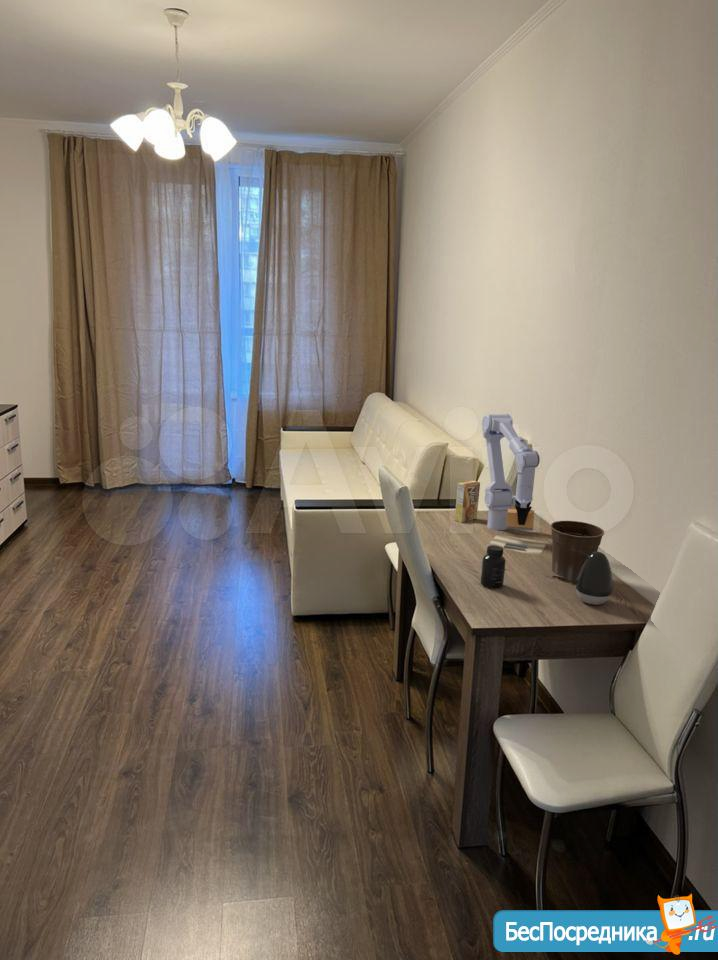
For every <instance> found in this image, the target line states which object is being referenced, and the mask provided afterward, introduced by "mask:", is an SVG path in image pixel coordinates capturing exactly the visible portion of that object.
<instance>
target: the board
mask: <svg viewBox="0 0 718 960" xmlns="http://www.w3.org/2000/svg"><path fill="white" fill-rule="evenodd" d="M507 542H508V543H514V544H520V545H526V546H527V548H525V551H521V550H515V549H509V548H504V545H506V543H507ZM547 544H548V542H546V541H540V540H539V541H538V540H534V539H527V538H521V537H515V536H510V535H509V536H508V535H504V534H496V535H495V536H494V537H493V538H492V540H491V541H490V542H489V543H488V544H487V545H486V548H487V547H488V546H491V545H496V546H500V547H502V548H503V551H509V552H515V553H520V554H521V553H522V554H526V555H533V556H539V557H540V556H541V554H542V552H543V550H544V549H545V546H546V545H547Z"/></svg>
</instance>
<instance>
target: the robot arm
mask: <svg viewBox="0 0 718 960" xmlns="http://www.w3.org/2000/svg"><path fill="white" fill-rule="evenodd" d="M513 424H514V423H513V418H512V415H510V414H509V413H505V414H501V413H500V414H489V413H487V414H486V413H485V415H484V416H483V418H482V420H481V430H482V431H481V432H482V436H483V438H484V439H485V443H486V451H487V459H488V467H489V469H488V470H489V476H490V484H488V486H486V487H485V489H484V504H485V505H486V507H487V508H488V513H487V514H488V515H487V524H486V525H487V529H489V530H493V531H505V530H508V529H507V515H508V509H511V508H512V507H513V506H514V509H516V510H517V515H518V525H525V522H526V519H527V516H528V513H529V511H530V510H532V509H533V508H532V506H531V504H532V502H533V500H534V497H533V493H534V484H535V475H536V468H538V466H539V465H540V461H541V459H540V458H541V457H540V454H539V453H538V450H534V449H531V448H530V446H529V445H528V444H527V442H526V441H525V439H524V438H523V437H521V436H518V433H517V432H516V430H515V428H514V426H513ZM503 438H505V439H506V440H507V441H508V442H509V444H508V446H509V449H510V451H511V452H512V453H513V455H514V456H515V463H516V472H517V478H516V479H517V481H516V489H515V494H514V492H513V489H512V486H511V484H509V483H508V482H507V481H506V480H505V470H504V463H503V455H502V453H503V452H502V446H501V440H502V439H503Z"/></svg>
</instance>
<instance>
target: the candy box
mask: <svg viewBox="0 0 718 960" xmlns="http://www.w3.org/2000/svg"><path fill="white" fill-rule="evenodd" d="M480 487H481V482H479V481H477V480H467V481H463V482H462V481H461V482H458V483H457V489H456V498H455V499H456V501H455V510H454V511H455V512H454V521H455V520H456V521H455V522H458V521H460V522H459V523H461V522H463V523H466V522H465V521H467V522H470V521H469V520H472V521H474V520H473V519H476V518H478V508H479V498H480V489H481V488H480ZM476 520H477V519H476Z"/></svg>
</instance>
